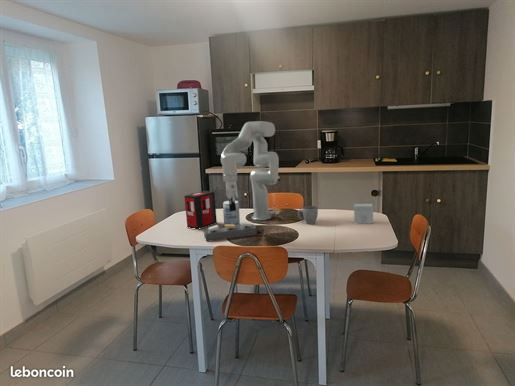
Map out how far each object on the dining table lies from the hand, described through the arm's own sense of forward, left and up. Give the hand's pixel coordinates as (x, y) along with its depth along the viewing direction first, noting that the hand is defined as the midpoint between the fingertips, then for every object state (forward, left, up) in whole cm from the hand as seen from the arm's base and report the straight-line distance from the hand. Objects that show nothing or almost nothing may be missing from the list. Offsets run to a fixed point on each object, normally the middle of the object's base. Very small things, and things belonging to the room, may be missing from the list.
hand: (232, 210), depth 211 cm
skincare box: (-76, +7, -14) cm, 77 cm away
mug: (-46, -5, -14) cm, 48 cm away
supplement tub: (-3, -20, -14) cm, 25 cm away
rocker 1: (+11, 0, -9) cm, 14 cm away
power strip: (0, 0, -14) cm, 14 cm away
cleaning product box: (+14, -29, -14) cm, 35 cm away
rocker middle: (+2, 0, -9) cm, 9 cm away
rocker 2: (-7, 0, -9) cm, 11 cm away
